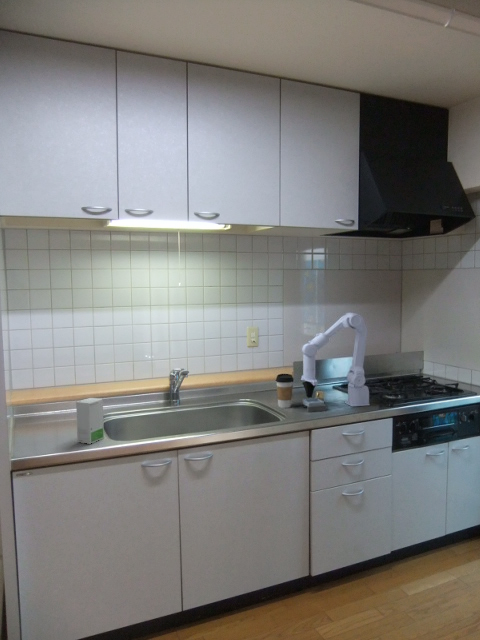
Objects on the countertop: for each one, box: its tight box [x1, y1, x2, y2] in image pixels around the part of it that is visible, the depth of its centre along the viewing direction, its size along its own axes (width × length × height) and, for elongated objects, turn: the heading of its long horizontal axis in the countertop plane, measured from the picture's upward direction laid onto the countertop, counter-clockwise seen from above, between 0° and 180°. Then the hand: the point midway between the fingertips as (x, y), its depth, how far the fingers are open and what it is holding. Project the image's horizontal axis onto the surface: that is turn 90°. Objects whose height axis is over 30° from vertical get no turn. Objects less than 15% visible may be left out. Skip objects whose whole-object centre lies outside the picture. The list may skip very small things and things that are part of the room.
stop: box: [306, 404, 327, 413], centre depth 220 cm, size 9×1×2 cm, turn 105°
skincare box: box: [75, 397, 105, 445], centre depth 182 cm, size 8×7×16 cm
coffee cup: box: [275, 373, 294, 409], centre depth 228 cm, size 8×8×15 cm
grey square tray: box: [302, 397, 325, 408], centre depth 224 cm, size 8×8×4 cm
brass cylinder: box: [315, 390, 325, 403], centre depth 234 cm, size 4×4×6 cm
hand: (309, 397), depth 229 cm, fingers closed
